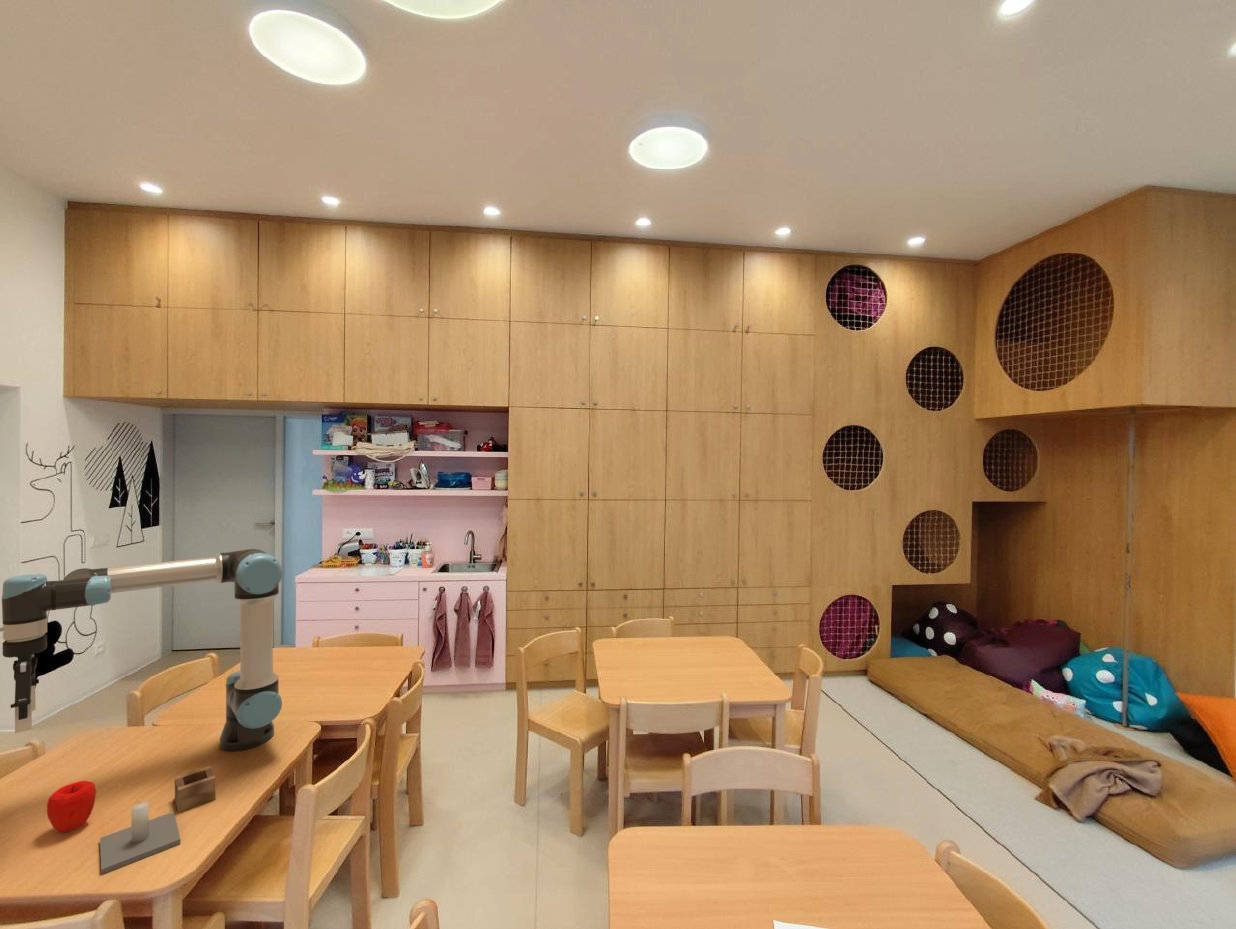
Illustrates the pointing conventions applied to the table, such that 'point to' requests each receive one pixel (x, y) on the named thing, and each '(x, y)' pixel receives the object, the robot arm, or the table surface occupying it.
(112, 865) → the stand
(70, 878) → the table surface
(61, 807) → the apple
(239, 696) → the robot arm
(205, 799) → the frame
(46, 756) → the table surface
